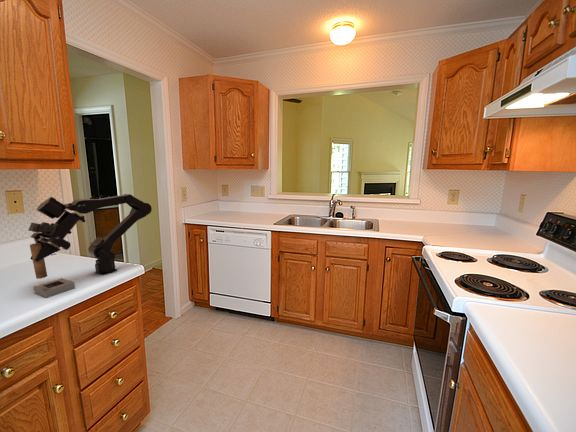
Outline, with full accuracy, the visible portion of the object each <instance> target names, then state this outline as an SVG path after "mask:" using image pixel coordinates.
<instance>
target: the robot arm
mask: <svg viewBox="0 0 576 432" xmlns="http://www.w3.org/2000/svg"><path fill="white" fill-rule="evenodd" d="M122 204H123V205H124V204H126V205H127V206H129V207H130V211H129V214H127V216H125V218H123V219H122V220H121V221H120V222H119V223H118V224H117V225H116V226H115V227H114V228H113V229H112V230H110V232H109V233H107V234H106V236H104V237H96V238H95V239H94V240H93V241H92V242H90V243H89V246H88V248H87V249H88V254H90V256H93V257H94V259H95V263H94V268H95V271H94V273H95V274H98V275H102V276H105V275H107V274H111V273H113V272H117V271H118V269H117V268H116V263H115V259H116V254H115V252H112V249H113V247H114V244H115V243H116V242H117V241H118V240H119V239H120V238H121V237H122V236H123V235H125V233H126V232H128V230H129V229H131V227H132V226H133V225H134V224H136V223H137V222H138V221H140V220H141V219H143V218H145V217H147V216H148V215H150V214H151V212H152V210H153V209H152V206H151V204H150V203H147V202H144V201H143V200H141V199H138V198H137V197H135V196H133V195H132V194H129V193H128V194H127V193H124V194H121V195H115V196H114V195H113V196H108V197H103V198H94V199H93V198H77V199H73V201H71V202H69V203H62V202H60V201H58V200H57V199H56V198H55V197H53V196H49V198H47V199H45V200H44V201H43V202H41V203H40V204H39V205H38V206H37V207H36V211H37V212H39V213H40V214H43V215H44V216H46V217H48V218H49V219H52V220H54V219H55V218H56V219H57V220H56V221H55V222H52V223H49V222H44V221H43V222H41V223H37V222H31V223H30V226H29V227H28V230H27V231H29V232H33V233H32V234H31V235H30V238H32V239H33V240H34V244H35V243H41V245H42V249H41V251H40V252H39V254H38V255H37V257H36V258H35V261H37V262H38V261H40V260H42V259H44V260H45V258H47V257H49V256H51V255H52V254H55V253H57V252H59V251H61V250H65V251H68V250H69V249H70V248H71V242H70V241H68V240H66V239H65V238H66V236H67V235H71V234H72V229H73V228H75V226H76V225H77V223H78V222H80V223H86V219H85V215H83V214H90V213H91V212H94V211H96V210H98V209H102V208H106V207H112V206H117V205H122ZM70 211H71V212H70ZM72 211H73V212H72ZM79 214H82V215H79ZM61 248H62V249H61ZM29 259H30V260H31V261H33V259H32V255H31V256H30V258H29Z"/></svg>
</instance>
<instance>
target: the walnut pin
mask: <svg viewBox="0 0 576 432" xmlns="http://www.w3.org/2000/svg"><path fill="white" fill-rule="evenodd" d="M29 249H30V253H31V254H30V255H31V256H32V259H33V260H32V264H33V269H34V274H35V279H37V280H38V279H39V280H40V279H44V278H47V277H48V272H47V267H46V261H45V258H44V259H42V260H40V261H38V262H37V261H35V258H36V257H37V255H38V254H39V252H40V251H41V249H42V245H41V243H35V242H34V243H31V244H29Z"/></svg>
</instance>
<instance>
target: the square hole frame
mask: <svg viewBox="0 0 576 432" xmlns="http://www.w3.org/2000/svg"><path fill="white" fill-rule="evenodd" d="M75 288H76V287H75V282H74V281H71V280H68V279H65V278H62V277H61V278H57V279H55V280H51V281H47V282H45V283H41V284H38V285H34V286H33V291H34V294H36V295H38V296H41V297H44V298H45V299H47V298H50V297H54V296H57V295H60V294H61V293H64V292H68V291H72V290H74V289H75Z"/></svg>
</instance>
